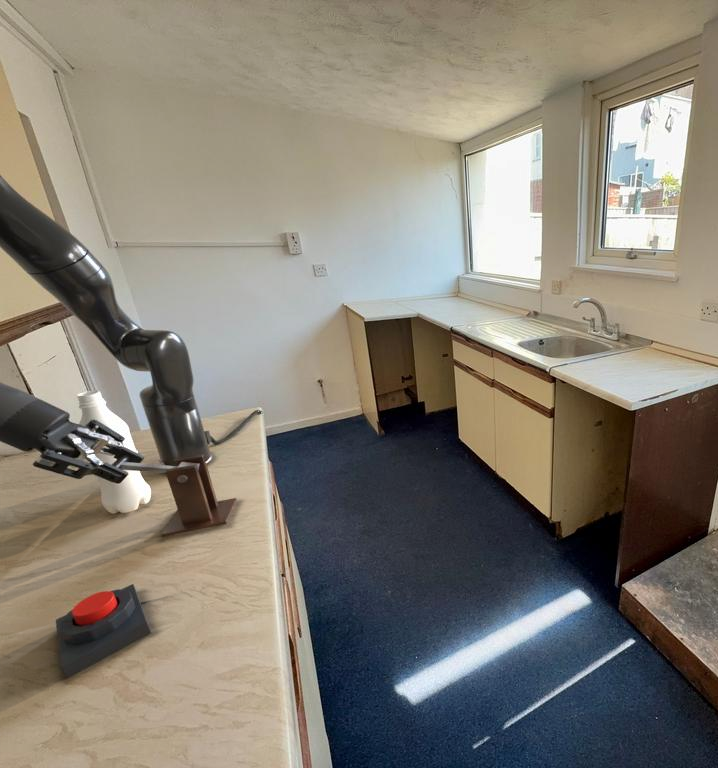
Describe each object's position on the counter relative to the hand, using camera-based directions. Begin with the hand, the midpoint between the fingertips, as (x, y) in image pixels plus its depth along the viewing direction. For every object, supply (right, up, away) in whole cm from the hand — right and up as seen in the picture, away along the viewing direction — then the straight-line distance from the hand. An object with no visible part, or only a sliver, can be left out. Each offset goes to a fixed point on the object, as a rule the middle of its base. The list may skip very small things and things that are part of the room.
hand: (132, 470), depth 70 cm
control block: (+11, -19, -16) cm, 27 cm away
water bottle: (-10, -10, +11) cm, 18 cm away
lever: (+3, -1, +1) cm, 3 cm away
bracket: (+7, -11, +7) cm, 15 cm away
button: (+11, -16, -17) cm, 26 cm away
